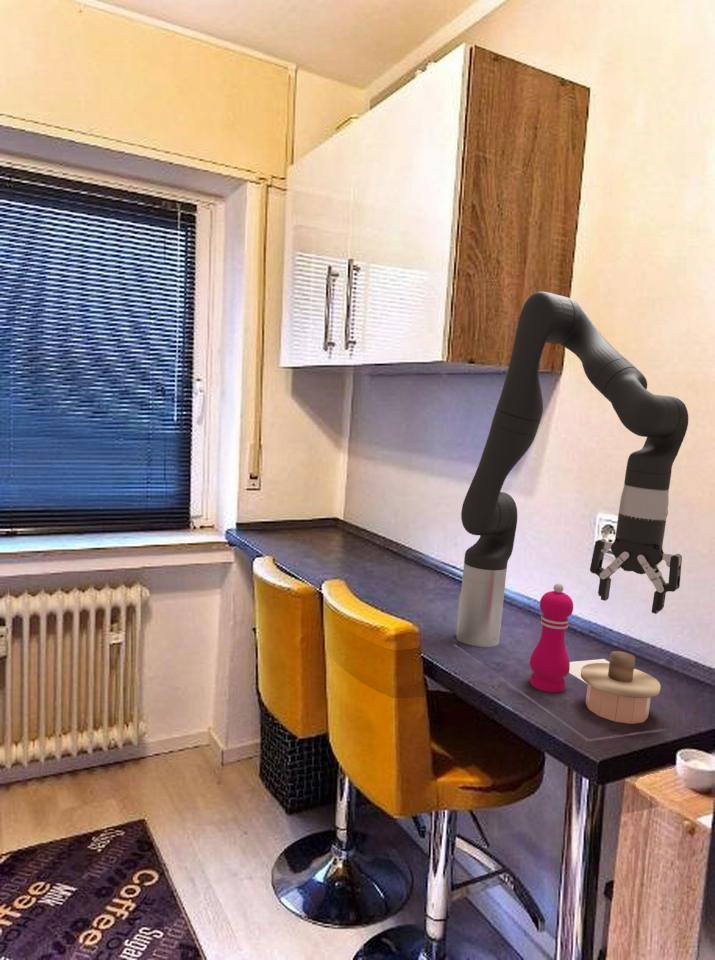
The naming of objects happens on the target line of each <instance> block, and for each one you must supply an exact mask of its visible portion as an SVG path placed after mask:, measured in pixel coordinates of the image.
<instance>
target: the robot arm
mask: <svg viewBox="0 0 715 960" xmlns="http://www.w3.org/2000/svg"><path fill="white" fill-rule="evenodd" d="M580 305H581V304H579V303H578V302H577V301H576V300H575V299H572V298H570V297H567V296H565V295H564V296H563V295H560V294H556V293H552V292H546V291H536V292H534V293H532V294H531V295H530V296H529V297H528V298H527V300H526V301H525V303H524V304H523V307H522V309H521V311H520V314H519V317H518V322H517V327H516V329H515V330H516V331H515V337H514V341H513V346H512V350H511V354H510V355H511V356H510V359H509V364H508V369H507V372H506V375H505V379H504V382H503V383H504V384H503V387H502V390H501V394H500V396H499V400H498V402H497V404H496V407H495V411H494V416H493V418H492V420H491V425H490V428H489V431H488V432H489V433H488V436H487V440H486V442H485V446H484V448H483V452H482V454H481V457H480V460H479V463H478V465H477V469H476V470H475V473H474V476H473V478H472V481H471V483H470V485H469V488H468V489H467V492H466V495H465V497H464V498H463V499H464V500H463V502H462V505H461V513H460V515H461V517H460V519H461V523H462V526H463V528H464V530H465V532H467V533H469V534H470V535H473V536H479V537H478V540H476V542H475V543H474V544H473V545H472V546H470V547H468V548H467V549H466V550H465V552H464V561H463V562H464V563H463V569H462V570H463V571H462V582H461V589H460V590H461V591H460V593H459V595H458V604H457V611H456V612H457V615H456V624H455V632H454V633H455V635H456V640H457V641H458V642H460V643H463V644H465V645H469V646H472V647H477V648H493V647H496V646H498V645H499V643H500V635H501V627H502V626H501V625H502V617H503V608H504V598H505V592H506V591H505V588H506V581H507V569H508V562H509V560H510V557H511V556H512V554H513V551H514V544H515V538H516V531H517V524H518V509H517V504H516V502H515V500H514V498H513V496H511V495H510V494H508V493H506V492H502V488H503V485H504V483H505V481H506V479H507V477H508V475H509V474H510V472H511V471H512V470H513V469H514V467H515V466H516V465H518V463H519V462H520V460H521V459H522V458H523V456H524V455H525V454H526V453H527V452H528V451H529V449H530V448H531V446H532V444H533V443H534V441H535V438H536V435H537V432H538V430H539V426H540V423H541V420H542V416H543V414H544V413H543V412H544V401H543V393H542V389H541V384H540V377H539V376H540V375H539V374H540V373H539V370H540V368H539V367H540V363H541V358H542V355H543V351H544V348H545V345H546V343H548V344H552V345H553V344H555V345H560V346H562V347H564V348H565V349H567V350H569V351H570V352H571V353H573V354H574V355H575V356H576V357H577V358H578V359H579V360H580V362H581V364H582V368H583V371H584V374H585V375H586V378H587V379H588V380H589V382H590V384H592V385H593V387H595V389H596V390H597V391H599V393H600V394H601V395H602V396H603V397H604V398H605V399H607V401H608V402H610V403H611V405H612V408H613V410H614V412H615V414H616V415H617V417H618V419H619V421H620V423H622V424H623V426H624V427H625V428H626V429H627V430H629V431H630V433H632V434H634V435H635V436H636V435H637V436H639V437H644V438H645V437H646V439H645V441H644V444H643V446H642V448H641V449H639V450H636V451H633V452H632V453H630V455H629V456H628V458H627V462H626V469H625V474H624V475H625V476H624V483H623V489H622V492H621V496H620V500H619V508H618V515H617V523H616V530H615V535H614V536H615V538H614V541H613V542H610V541H607V540H606V539H605V538H601V539H598V540H596V541H595V543H594V547H593V552H592V557H591V560H590V561H591V563H590V568H589V572H590V573H591V574H595V575H597V577H598V578H599V584H598V591H597V594H598V596H599V597H600V600H601V601H607V600H609V598H610V590H611V584H612V583H611V582H612V578H611V576H612V575H613V574H615V573H616V572H617V571H619V569H623V571H625V572H634V573H636V574H638V575H644V574H646V576H647V578H648V580H649V581H650V582H651V583H652V584H653V587H654V588H655V591H654V593H653V599H652V606H651V607H652V608H651V613H652V614H654V615H656V614H658V613H659V612H661V611H662V610H663V609H664V608H665V601H666V596H667V595H666V594H667V592H672V593H673V592H675V591H676V590H678V589H680V586H681V576H682V575H681V574H682V562H683V557H682V555H681V554H680V553H676V554H671V553H666V552H664V550H663V544H664V536H665V531H666V525H667V517H668V515H669V497H670V496H669V489H670V485H671V478H672V468H673V464H674V463H675V460H676V458H677V456H678V454H679V451H680V449H681V447H682V443H683V441H684V439H685V437H686V434H687V430H688V426H689V412H688V409H687V408H688V407H687V406H686V404H685V403H684V402H683V401H682V400H681V399H680V398H678V397H675V396H669V395H660V394H654V393H651V392H650V391H649V390H648V381H647V378H646V377H645V375H644V374H643V373H642V372H641V370H639V369H638V368H637V367H636V366H635V365H634V364H632V363H631V362H630V361H629V360H628V359H627V358H626V357H625V356H623V355H622V354H621V353H620V352H619V351H618V350H617V349H616V348H615V347H614V346H612V344H611V343H610V342H609V341H608V340H607V339H606V338H605V337H604V335H602V333H601V331H599V329H598V328H597V327H596V325H595V324H594V323H593V321H592V320H591V319H590V317H589V316H588V315H587V313H586V312H585V310H583V309H584V308H582V307H581V306H580ZM610 550H611V552H612V555H613V556H614V558H615V559H614V560H613V561H611V563H610V564H609V565H608V566H607V567H605V568H604V567H603V561H604V557H605V554H606V553H608V552H609V551H610ZM662 561H665V565H666V566H667V568H669V573H668V582H666V581H665V579H664V577H663V574H662V572H661V569H660V568H659V567H658V565H659V564H660V563H661V562H662Z"/></svg>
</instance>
